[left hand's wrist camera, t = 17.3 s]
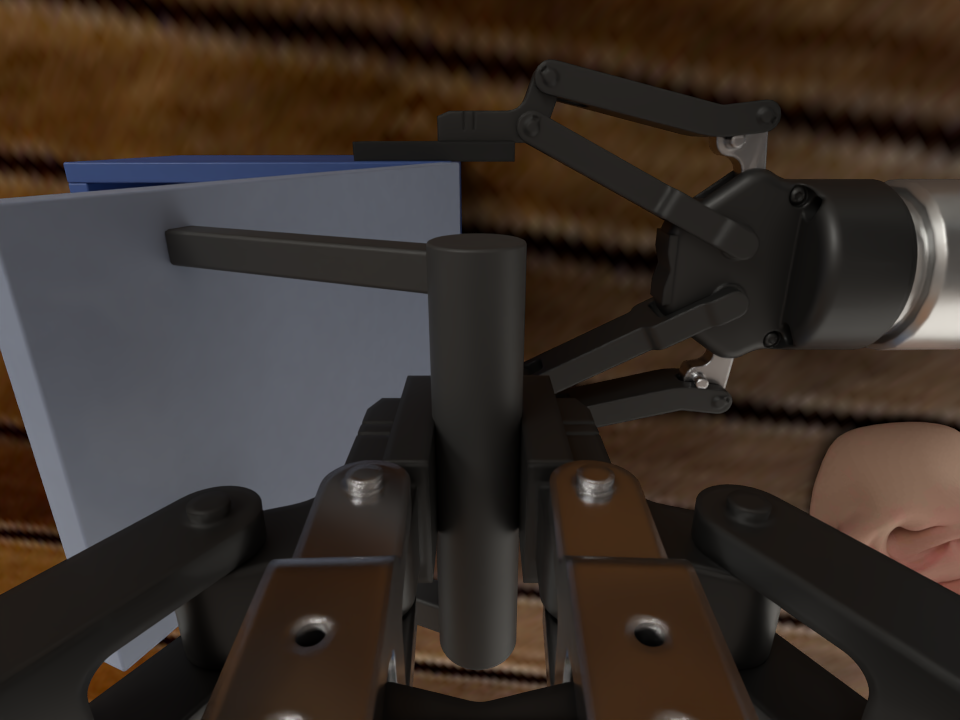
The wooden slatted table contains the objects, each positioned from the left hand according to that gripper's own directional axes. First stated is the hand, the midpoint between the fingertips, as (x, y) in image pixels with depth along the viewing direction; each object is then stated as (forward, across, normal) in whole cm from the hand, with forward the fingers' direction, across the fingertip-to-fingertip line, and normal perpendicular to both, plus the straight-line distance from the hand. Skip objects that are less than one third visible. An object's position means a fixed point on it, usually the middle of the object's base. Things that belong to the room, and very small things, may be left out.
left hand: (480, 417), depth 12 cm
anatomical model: (+22, +28, -17) cm, 39 cm away
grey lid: (+5, -5, 0) cm, 7 cm away
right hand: (+15, -5, 0) cm, 16 cm away
